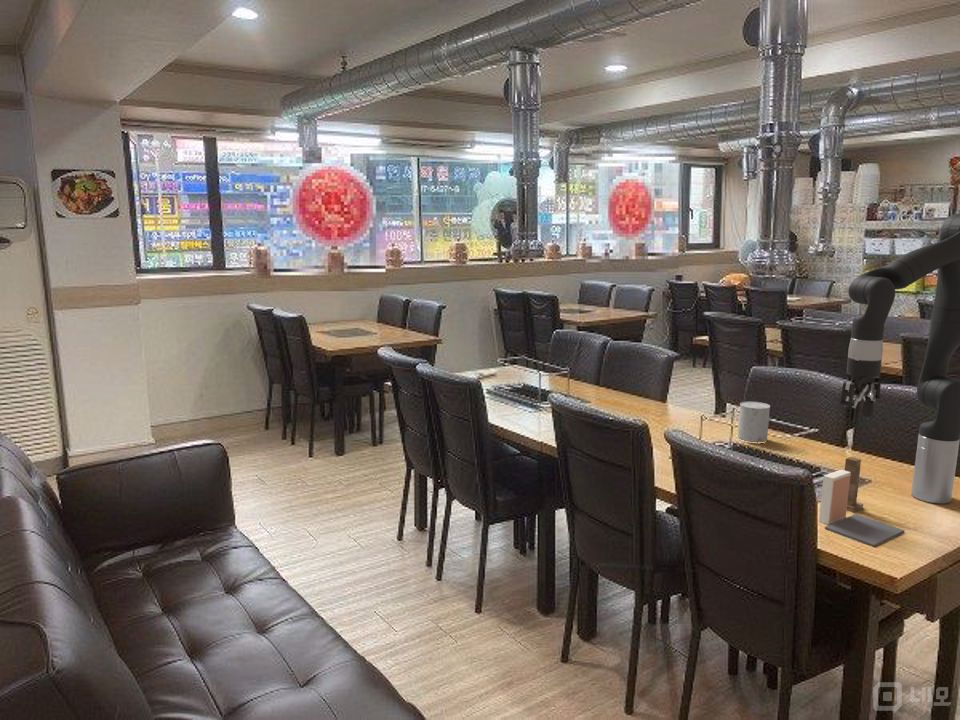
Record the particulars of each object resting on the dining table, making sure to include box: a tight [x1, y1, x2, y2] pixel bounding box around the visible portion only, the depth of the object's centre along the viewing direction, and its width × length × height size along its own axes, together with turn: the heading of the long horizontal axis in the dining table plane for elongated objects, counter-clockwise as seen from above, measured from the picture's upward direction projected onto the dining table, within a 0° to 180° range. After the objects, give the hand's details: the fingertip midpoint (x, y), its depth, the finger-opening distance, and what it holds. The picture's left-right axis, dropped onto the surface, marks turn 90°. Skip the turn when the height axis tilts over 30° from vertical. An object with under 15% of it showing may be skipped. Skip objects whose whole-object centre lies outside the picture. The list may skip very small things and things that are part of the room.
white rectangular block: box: [818, 469, 851, 526], centre depth 178 cm, size 8×3×12 cm, turn 124°
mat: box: [824, 513, 905, 548], centre depth 173 cm, size 14×12×1 cm
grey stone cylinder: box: [737, 401, 771, 443], centre depth 243 cm, size 10×10×12 cm
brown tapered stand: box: [844, 456, 864, 513], centre depth 186 cm, size 5×5×13 cm
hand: (858, 418), depth 182 cm, fingers open, 8 cm apart
